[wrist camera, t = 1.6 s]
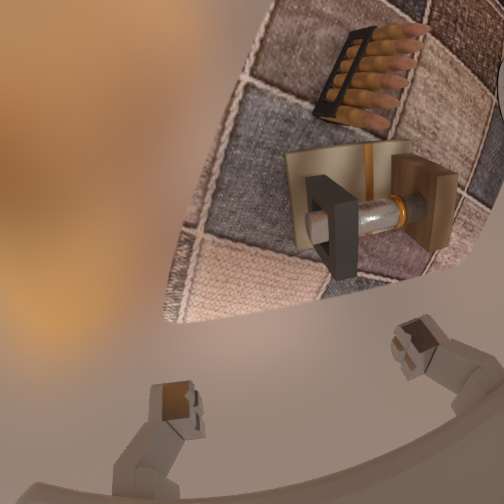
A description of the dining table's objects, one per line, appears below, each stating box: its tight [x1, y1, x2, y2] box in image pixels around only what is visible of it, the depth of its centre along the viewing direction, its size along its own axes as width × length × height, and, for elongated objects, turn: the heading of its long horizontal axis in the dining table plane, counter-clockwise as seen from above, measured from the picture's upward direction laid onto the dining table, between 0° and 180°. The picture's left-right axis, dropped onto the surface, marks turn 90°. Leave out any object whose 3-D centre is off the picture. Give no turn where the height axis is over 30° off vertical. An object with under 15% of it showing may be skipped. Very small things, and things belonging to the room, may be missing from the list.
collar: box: [305, 174, 359, 281], centre depth 25 cm, size 2×7×7 cm, turn 10°
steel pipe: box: [305, 193, 427, 245], centre depth 25 cm, size 14×3×3 cm, turn 100°
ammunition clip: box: [312, 23, 431, 129], centre depth 19 cm, size 11×2×12 cm, turn 157°
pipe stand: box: [284, 139, 458, 253], centre depth 27 cm, size 15×11×9 cm
